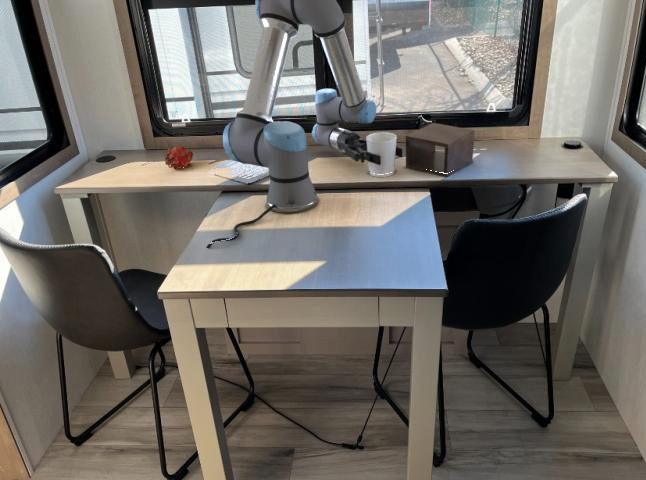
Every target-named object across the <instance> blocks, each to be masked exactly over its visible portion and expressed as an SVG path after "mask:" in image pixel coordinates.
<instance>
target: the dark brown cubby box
mask: <svg viewBox="0 0 646 480" xmlns="http://www.w3.org/2000/svg"><path fill="white" fill-rule="evenodd" d="M475 132H476V130H475V129H470V128H464V127H459V126H452V125H448V124H442V123H435V122H432V123H430V124H427V125H426V126H424V127H422V128H419V129H417V130H415V131H413V132H411V133H409V134H406V135H405V168H406V169H410V170H414V171H419V172H421V173H422V172H423V173H427V174H431V175H436V176H440V177H444V178H448V177H450V176H452V175H453V174H455V173H456V172H459V171H460V170H462V169H463V168H465V167H467V166H468V165H470V164H472V163H473V159H474V147H475V146H474V144H475V134H476V133H475ZM436 147H441V148H444V152H443V151H438V150H436ZM426 169H427V170H426ZM430 170H432V171H430ZM453 170H454V171H453ZM435 171H437V172H435ZM451 171H452V172H451ZM439 172H444V173H448V174H443V173H439ZM449 172H450V173H449Z"/></svg>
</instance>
